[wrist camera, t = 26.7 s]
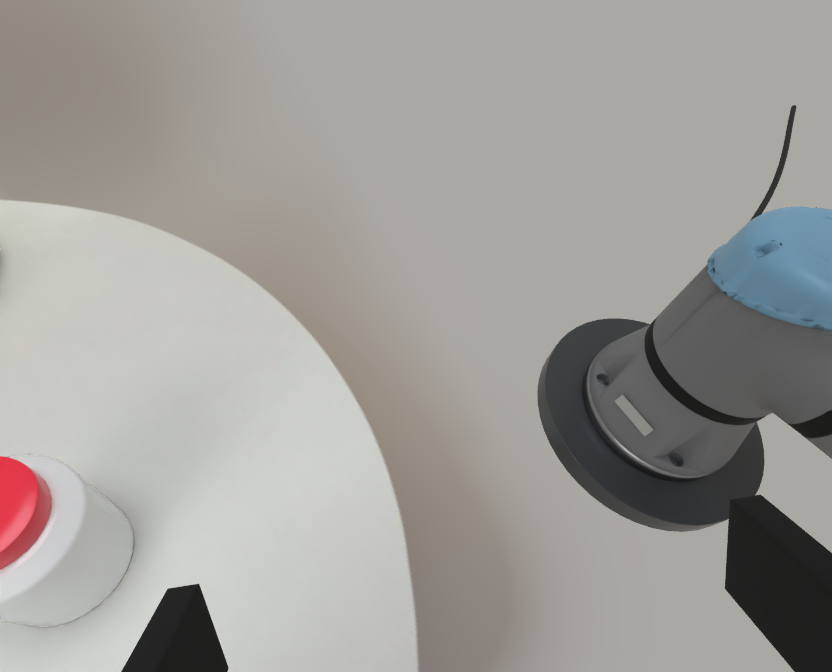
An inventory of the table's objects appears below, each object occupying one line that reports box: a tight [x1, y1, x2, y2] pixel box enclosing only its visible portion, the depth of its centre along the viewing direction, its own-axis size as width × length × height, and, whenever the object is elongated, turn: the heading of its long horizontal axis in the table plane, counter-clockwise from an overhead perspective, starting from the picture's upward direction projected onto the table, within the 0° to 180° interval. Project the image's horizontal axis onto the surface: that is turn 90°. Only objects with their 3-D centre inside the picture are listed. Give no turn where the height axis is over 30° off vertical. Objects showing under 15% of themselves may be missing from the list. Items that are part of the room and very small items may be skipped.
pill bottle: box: [0, 454, 134, 627], centre depth 27 cm, size 8×8×11 cm
